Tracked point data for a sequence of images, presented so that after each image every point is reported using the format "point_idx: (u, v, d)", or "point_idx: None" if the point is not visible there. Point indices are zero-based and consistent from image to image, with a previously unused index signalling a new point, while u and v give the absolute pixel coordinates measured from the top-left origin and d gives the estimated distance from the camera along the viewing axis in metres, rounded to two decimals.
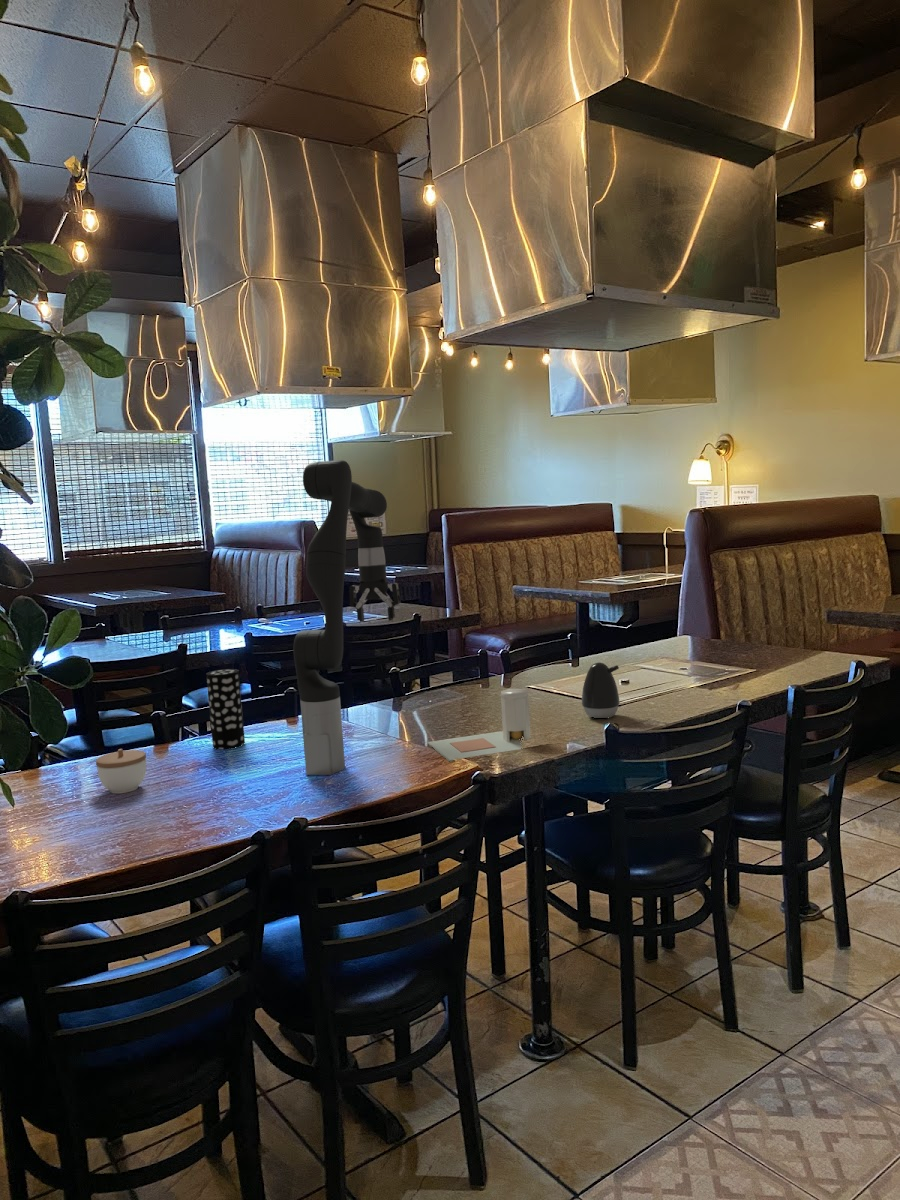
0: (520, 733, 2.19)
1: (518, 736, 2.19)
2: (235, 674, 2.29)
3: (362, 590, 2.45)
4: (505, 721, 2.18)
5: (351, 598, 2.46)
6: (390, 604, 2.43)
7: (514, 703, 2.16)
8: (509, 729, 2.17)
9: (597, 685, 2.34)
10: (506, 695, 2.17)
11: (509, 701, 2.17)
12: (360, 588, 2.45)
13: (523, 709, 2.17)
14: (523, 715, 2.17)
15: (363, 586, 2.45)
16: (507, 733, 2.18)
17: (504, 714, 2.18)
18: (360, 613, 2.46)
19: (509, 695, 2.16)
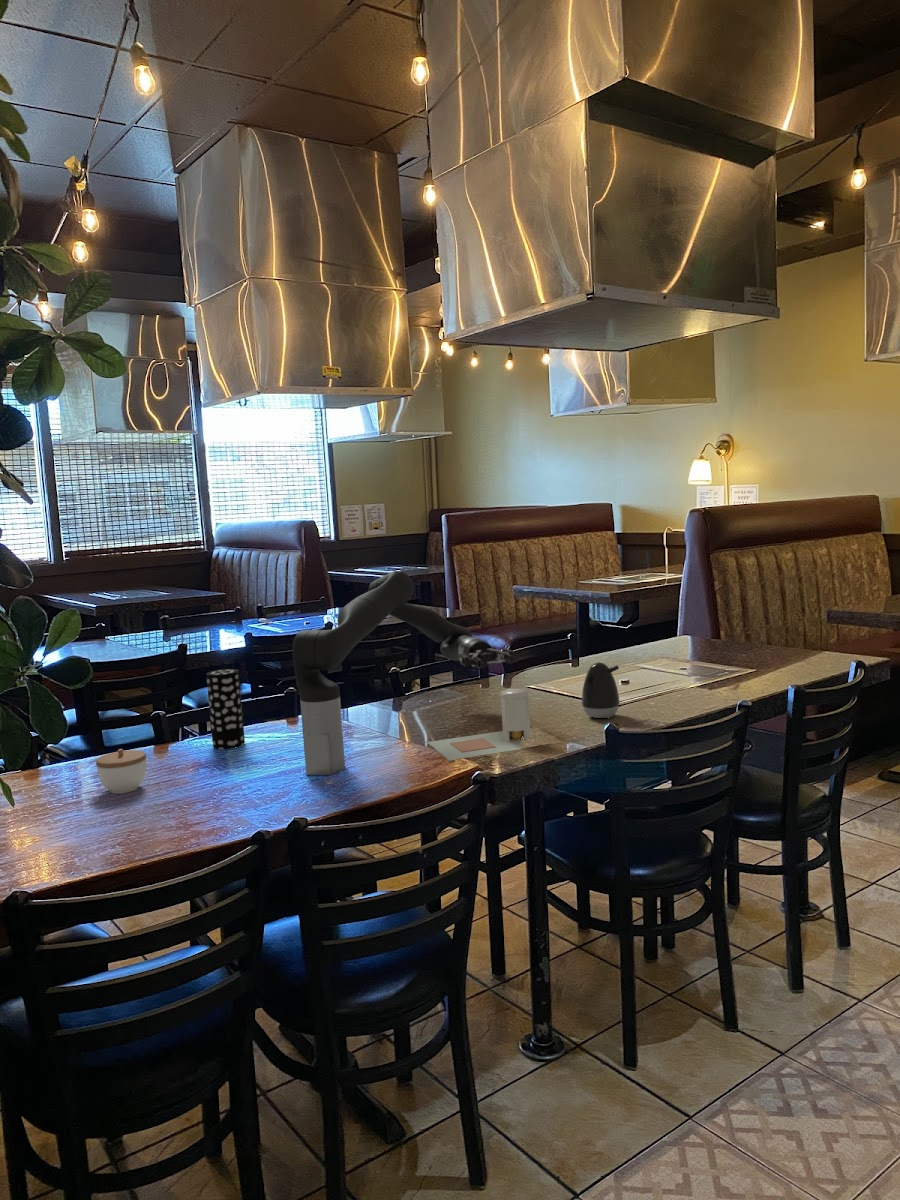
0: (520, 733, 2.19)
1: (518, 736, 2.19)
2: (235, 674, 2.29)
3: (473, 653, 2.37)
4: (505, 721, 2.18)
5: (464, 656, 2.33)
6: (506, 652, 2.35)
7: (514, 703, 2.16)
8: (509, 729, 2.17)
9: (597, 685, 2.34)
10: (506, 695, 2.17)
11: (509, 701, 2.17)
12: (471, 653, 2.37)
13: (523, 709, 2.17)
14: (523, 715, 2.17)
15: (473, 652, 2.38)
16: (507, 733, 2.18)
17: (504, 714, 2.18)
18: (478, 658, 2.30)
19: (509, 695, 2.16)
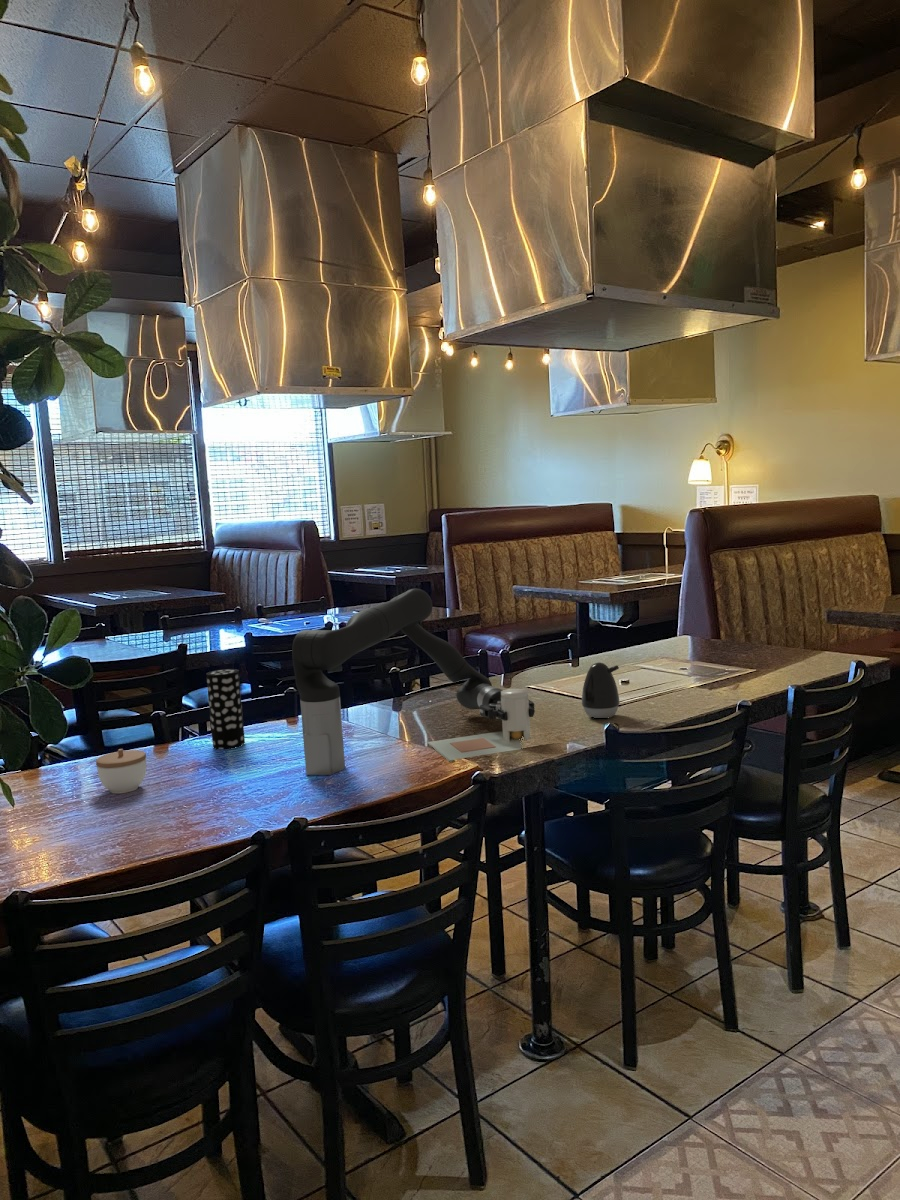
0: (520, 733, 2.19)
1: (518, 736, 2.19)
2: (235, 674, 2.29)
3: (494, 704, 2.25)
4: (505, 721, 2.18)
5: (486, 707, 2.22)
6: None
7: (514, 703, 2.16)
8: (509, 729, 2.17)
9: (597, 685, 2.34)
10: (506, 695, 2.17)
11: (509, 701, 2.16)
12: (491, 704, 2.26)
13: (523, 709, 2.17)
14: (523, 715, 2.17)
15: (493, 703, 2.26)
16: (507, 733, 2.18)
17: None
18: (502, 710, 2.19)
19: (509, 695, 2.16)
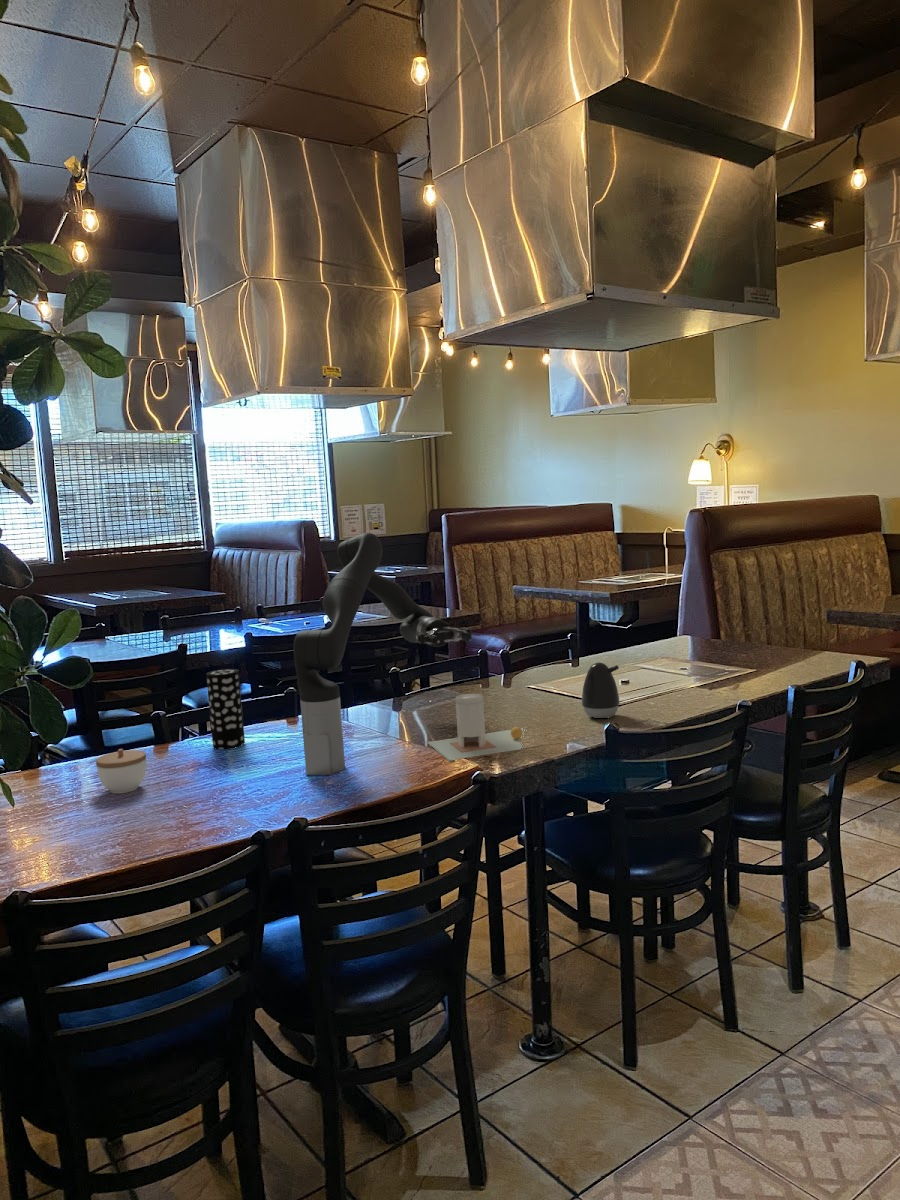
0: (520, 733, 2.19)
1: (518, 736, 2.19)
2: (235, 674, 2.29)
3: (430, 631, 2.32)
4: (459, 727, 2.14)
5: (420, 633, 2.29)
6: (463, 630, 2.30)
7: (468, 708, 2.12)
8: (463, 735, 2.14)
9: (597, 685, 2.34)
10: (460, 700, 2.13)
11: (463, 706, 2.13)
12: (427, 631, 2.32)
13: (478, 714, 2.13)
14: (478, 721, 2.13)
15: (430, 631, 2.33)
16: (462, 739, 2.14)
17: (459, 719, 2.15)
18: (433, 635, 2.25)
19: (463, 700, 2.12)
